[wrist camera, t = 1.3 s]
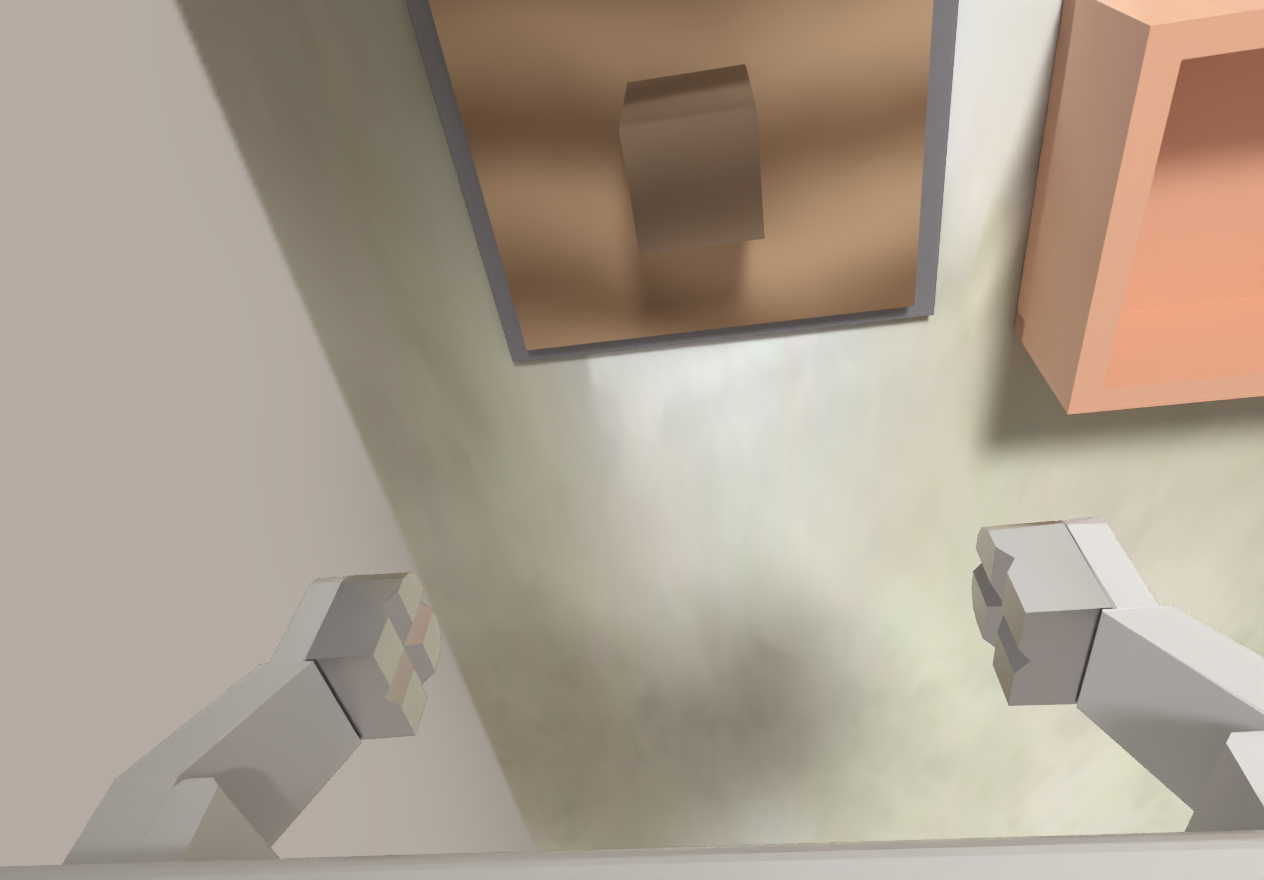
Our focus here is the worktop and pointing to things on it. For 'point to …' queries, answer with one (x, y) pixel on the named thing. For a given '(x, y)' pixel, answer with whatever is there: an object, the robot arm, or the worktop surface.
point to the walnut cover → (694, 157)
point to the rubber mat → (924, 306)
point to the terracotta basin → (1150, 207)
